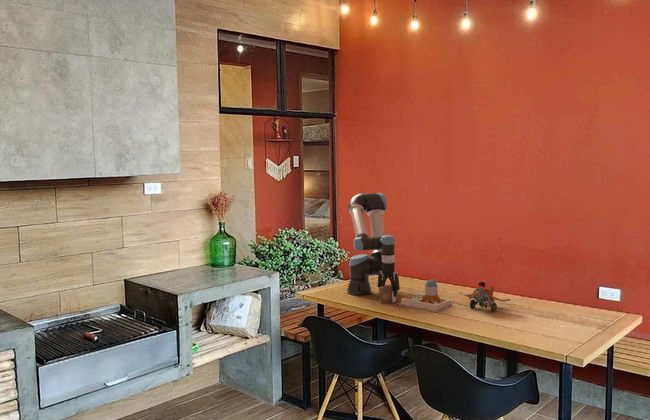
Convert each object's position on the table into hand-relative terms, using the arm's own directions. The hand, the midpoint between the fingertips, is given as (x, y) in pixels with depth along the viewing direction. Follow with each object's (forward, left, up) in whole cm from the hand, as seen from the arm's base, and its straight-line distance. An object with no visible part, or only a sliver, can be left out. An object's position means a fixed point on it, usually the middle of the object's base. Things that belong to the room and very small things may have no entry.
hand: (388, 300), depth 342 cm
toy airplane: (+52, +18, -1) cm, 55 cm away
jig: (+22, +5, 0) cm, 22 cm away
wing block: (0, 0, 0) cm, 0 cm away
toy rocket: (+26, +4, +1) cm, 27 cm away
